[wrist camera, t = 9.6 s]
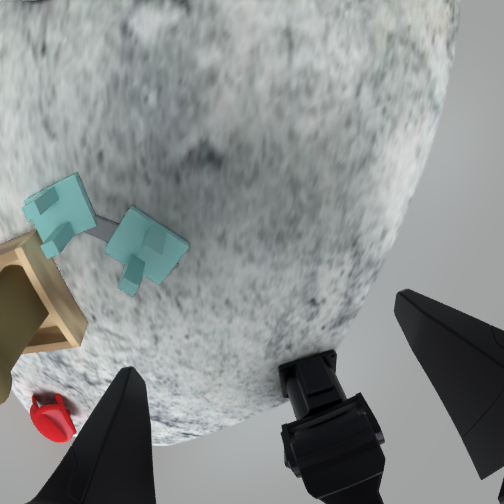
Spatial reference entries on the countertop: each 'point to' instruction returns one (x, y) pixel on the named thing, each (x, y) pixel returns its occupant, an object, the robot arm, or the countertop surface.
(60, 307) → the shallow tan tray
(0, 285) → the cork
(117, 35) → the countertop surface
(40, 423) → the red toy chair
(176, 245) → the clip
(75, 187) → the clip
